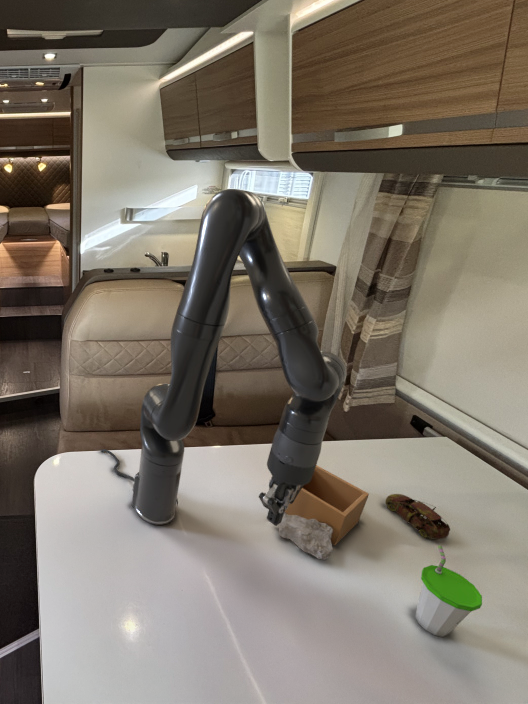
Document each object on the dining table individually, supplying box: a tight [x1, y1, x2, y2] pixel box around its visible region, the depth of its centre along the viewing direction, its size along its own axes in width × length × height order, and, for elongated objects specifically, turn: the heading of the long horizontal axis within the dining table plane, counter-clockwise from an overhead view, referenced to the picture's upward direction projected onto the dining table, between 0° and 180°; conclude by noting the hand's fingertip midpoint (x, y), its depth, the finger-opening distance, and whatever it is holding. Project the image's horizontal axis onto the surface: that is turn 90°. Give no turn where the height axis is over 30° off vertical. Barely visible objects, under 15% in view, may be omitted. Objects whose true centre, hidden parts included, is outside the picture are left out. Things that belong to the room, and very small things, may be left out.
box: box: [284, 464, 370, 546], centre depth 100 cm, size 12×14×9 cm
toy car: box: [384, 493, 451, 540], centre depth 99 cm, size 12×7×5 cm, turn 10°
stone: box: [278, 513, 334, 561], centre depth 93 cm, size 8×10×6 cm
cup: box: [414, 545, 483, 638], centre depth 75 cm, size 8×8×15 cm
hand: (273, 521), depth 86 cm, fingers closed
